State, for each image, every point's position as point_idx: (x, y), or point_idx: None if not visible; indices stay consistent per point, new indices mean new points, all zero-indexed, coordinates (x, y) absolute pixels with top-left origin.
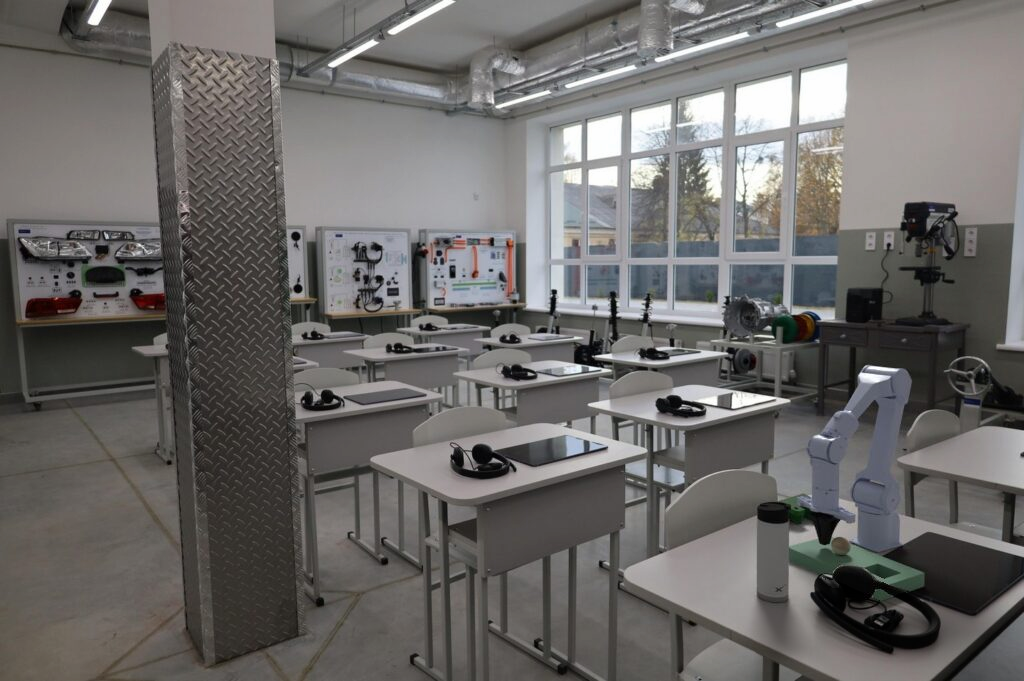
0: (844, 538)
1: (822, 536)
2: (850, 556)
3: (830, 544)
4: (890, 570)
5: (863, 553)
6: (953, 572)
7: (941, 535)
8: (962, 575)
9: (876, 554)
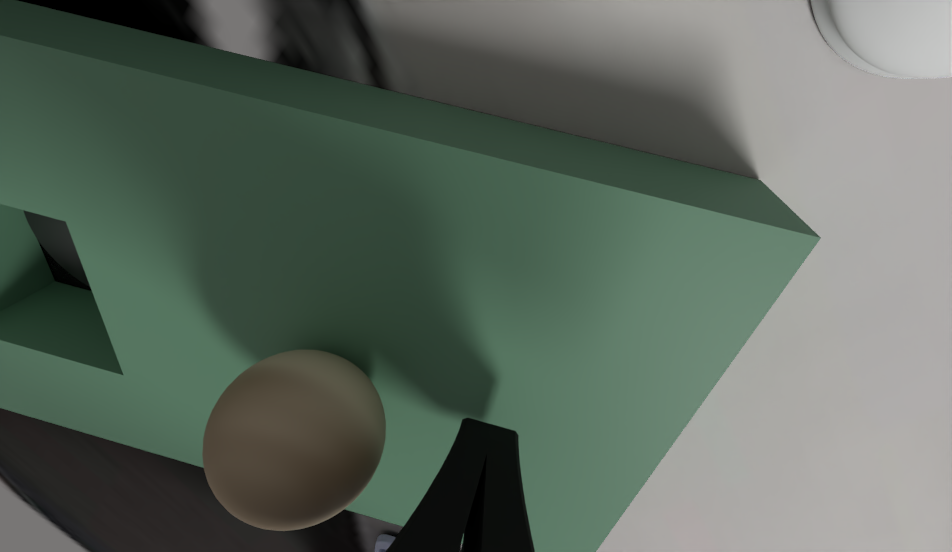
0: (231, 513)
1: (448, 492)
2: None
3: None
4: (52, 342)
5: None
6: (137, 498)
7: None
8: (109, 491)
9: None
